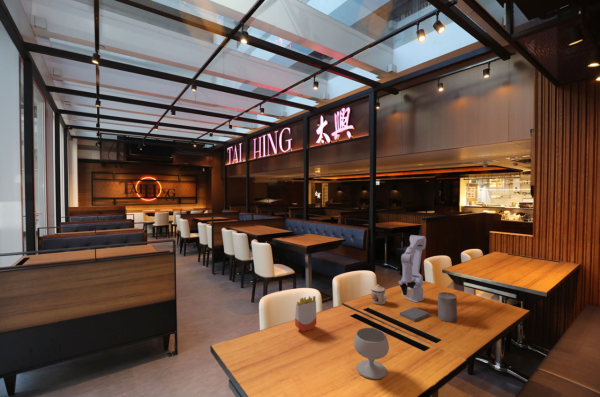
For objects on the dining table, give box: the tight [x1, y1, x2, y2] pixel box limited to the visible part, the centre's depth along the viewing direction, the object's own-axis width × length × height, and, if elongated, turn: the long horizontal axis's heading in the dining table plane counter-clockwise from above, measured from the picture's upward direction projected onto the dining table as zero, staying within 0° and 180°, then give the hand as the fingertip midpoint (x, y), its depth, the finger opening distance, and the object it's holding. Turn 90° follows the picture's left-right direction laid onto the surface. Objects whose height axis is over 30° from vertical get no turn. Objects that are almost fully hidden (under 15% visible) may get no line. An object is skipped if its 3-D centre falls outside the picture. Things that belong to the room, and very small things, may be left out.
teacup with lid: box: [370, 284, 388, 306], centre depth 183 cm, size 12×9×12 cm
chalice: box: [353, 327, 390, 380], centre depth 114 cm, size 14×14×15 cm
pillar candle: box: [437, 291, 458, 323], centre depth 159 cm, size 10×10×15 cm
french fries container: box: [294, 295, 317, 332], centre depth 149 cm, size 5×11×18 cm, turn 118°
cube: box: [401, 287, 413, 299], centre depth 176 cm, size 5×5×5 cm
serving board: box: [399, 306, 430, 322], centre depth 164 cm, size 14×10×2 cm
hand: (407, 293), depth 176 cm, fingers closed on cube, 5 cm apart
